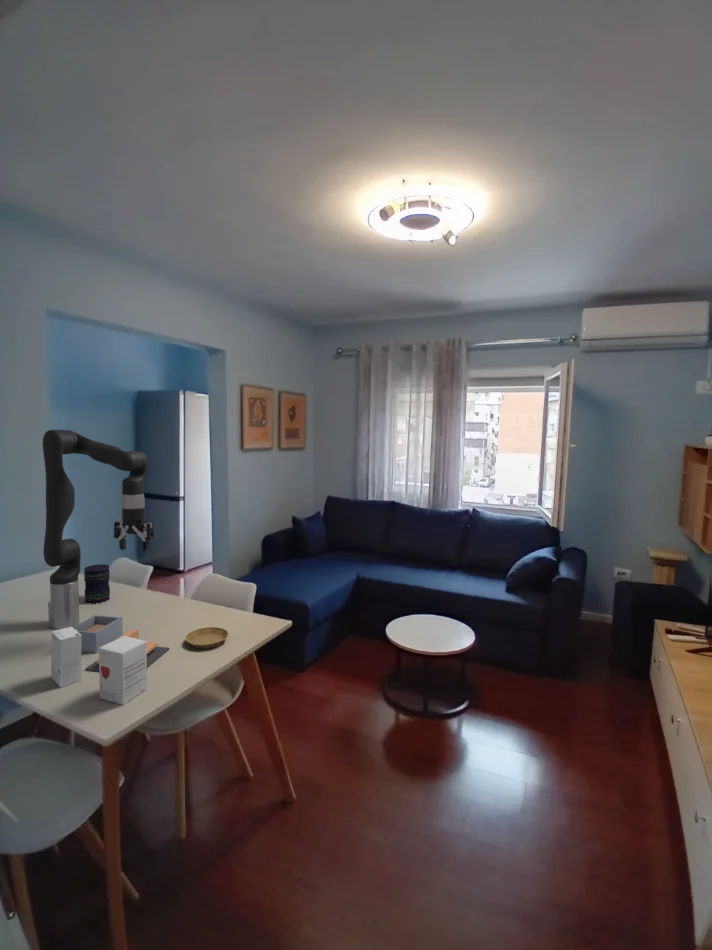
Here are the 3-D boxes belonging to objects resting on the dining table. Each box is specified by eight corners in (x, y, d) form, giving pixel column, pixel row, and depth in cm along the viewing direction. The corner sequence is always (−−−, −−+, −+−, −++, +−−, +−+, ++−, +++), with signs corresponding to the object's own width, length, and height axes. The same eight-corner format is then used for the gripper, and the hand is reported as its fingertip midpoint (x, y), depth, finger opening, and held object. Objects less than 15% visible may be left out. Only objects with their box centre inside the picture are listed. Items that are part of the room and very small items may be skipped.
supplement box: (98, 698, 130) (97, 647, 128) (124, 683, 138) (123, 634, 137) (122, 706, 126) (121, 653, 125) (148, 689, 135) (147, 640, 134)
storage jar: (103, 594, 212) (103, 563, 211) (114, 599, 206) (113, 567, 205) (80, 600, 204) (79, 567, 203) (91, 605, 198) (90, 572, 197)
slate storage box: (96, 653, 156) (95, 633, 156) (67, 650, 158) (66, 630, 157) (122, 635, 170) (122, 617, 169) (95, 633, 171) (95, 615, 171)
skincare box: (50, 678, 140) (49, 631, 138) (73, 671, 144) (71, 625, 143) (60, 688, 134) (59, 639, 133) (83, 680, 139) (81, 633, 138)
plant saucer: (206, 655, 157) (206, 648, 157) (176, 645, 164) (176, 638, 163) (236, 639, 170) (236, 632, 170) (207, 630, 177) (207, 624, 176)
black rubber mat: (85, 670, 145) (85, 668, 145) (121, 645, 163) (121, 643, 162) (138, 675, 142) (138, 673, 142) (169, 649, 160) (169, 647, 160)
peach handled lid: (131, 670, 144) (131, 645, 143) (96, 667, 146) (96, 642, 145) (158, 649, 159) (158, 625, 158) (126, 646, 160) (126, 623, 160)
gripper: (108, 507, 164) (109, 551, 165) (145, 508, 162) (146, 554, 163) (121, 504, 171) (122, 546, 172) (157, 505, 169) (158, 549, 171)
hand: (134, 550), depth 168 cm, fingers open, 8 cm apart
